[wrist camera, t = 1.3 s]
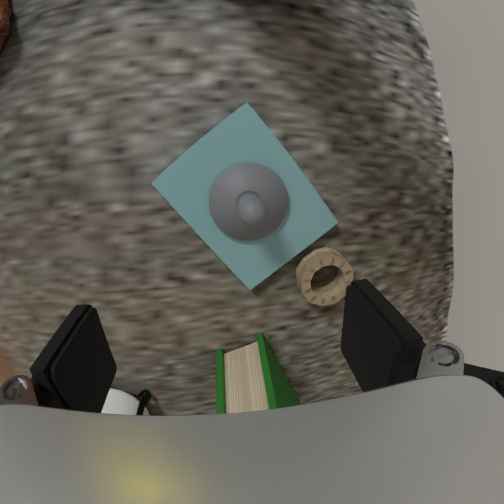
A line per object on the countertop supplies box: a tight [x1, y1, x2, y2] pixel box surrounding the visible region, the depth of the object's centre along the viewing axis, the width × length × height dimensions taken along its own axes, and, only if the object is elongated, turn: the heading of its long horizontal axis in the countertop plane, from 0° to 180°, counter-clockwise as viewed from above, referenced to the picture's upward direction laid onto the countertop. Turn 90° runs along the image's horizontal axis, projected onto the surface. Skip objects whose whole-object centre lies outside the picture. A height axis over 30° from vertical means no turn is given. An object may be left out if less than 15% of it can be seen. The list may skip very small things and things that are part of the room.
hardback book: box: [216, 333, 300, 414], centre depth 36 cm, size 18×7×24 cm, turn 23°
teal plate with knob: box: [151, 103, 338, 290], centre depth 32 cm, size 14×18×8 cm
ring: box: [296, 247, 353, 306], centre depth 39 cm, size 7×7×3 cm
